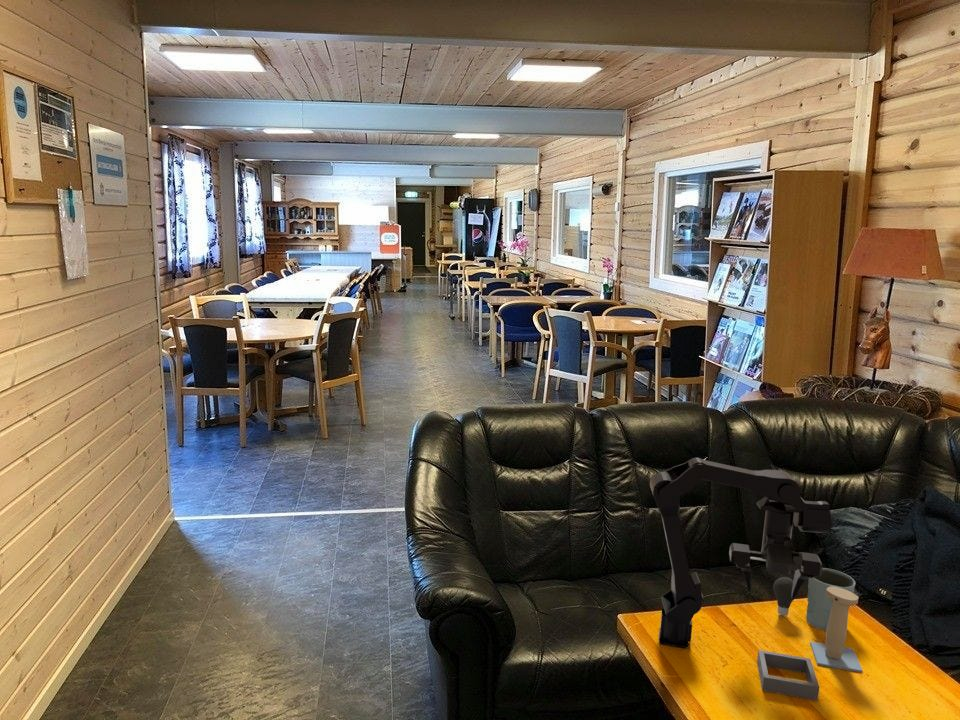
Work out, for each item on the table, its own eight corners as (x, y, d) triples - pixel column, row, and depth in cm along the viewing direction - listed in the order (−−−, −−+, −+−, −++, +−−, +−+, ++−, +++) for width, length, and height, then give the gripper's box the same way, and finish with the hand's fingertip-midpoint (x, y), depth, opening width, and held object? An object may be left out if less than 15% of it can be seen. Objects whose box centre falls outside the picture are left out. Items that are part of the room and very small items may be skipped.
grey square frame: (762, 690, 149) (763, 677, 148) (757, 662, 159) (758, 649, 158) (817, 700, 146) (819, 687, 146) (808, 671, 156) (810, 658, 156)
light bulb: (796, 623, 176) (801, 584, 174) (772, 619, 177) (776, 581, 175) (792, 611, 181) (796, 574, 180) (768, 608, 183) (772, 571, 181)
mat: (817, 664, 159) (817, 662, 159) (810, 643, 167) (810, 641, 167) (862, 672, 156) (862, 670, 156) (852, 650, 165) (853, 648, 165)
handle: (841, 666, 157) (851, 602, 155) (813, 652, 163) (822, 589, 160) (852, 660, 160) (862, 596, 158) (824, 646, 165) (833, 584, 163)
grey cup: (795, 612, 181) (800, 567, 179) (833, 611, 182) (839, 567, 180) (818, 634, 171) (824, 587, 169) (858, 633, 172) (864, 586, 170)
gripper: (736, 536, 154) (729, 604, 157) (831, 549, 150) (822, 619, 152) (732, 518, 165) (725, 582, 168) (821, 529, 160) (813, 595, 163)
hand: (770, 594), depth 162 cm, fingers open, 9 cm apart
